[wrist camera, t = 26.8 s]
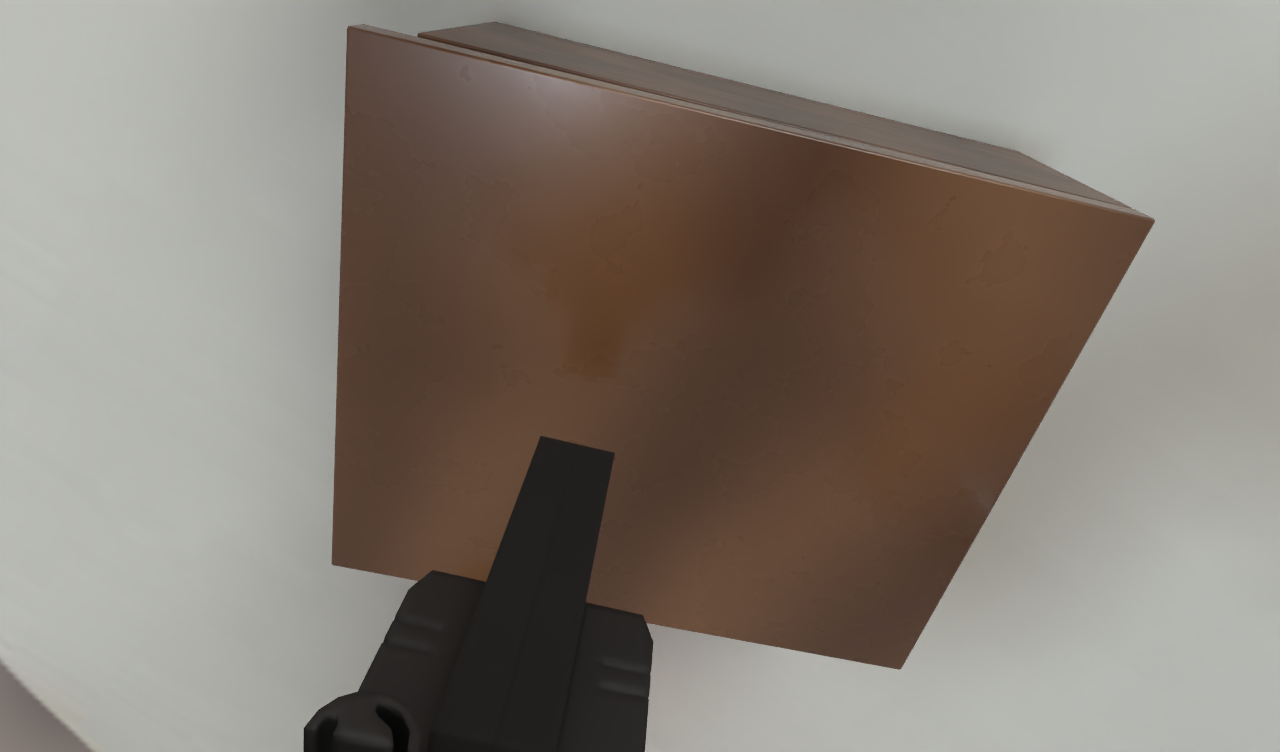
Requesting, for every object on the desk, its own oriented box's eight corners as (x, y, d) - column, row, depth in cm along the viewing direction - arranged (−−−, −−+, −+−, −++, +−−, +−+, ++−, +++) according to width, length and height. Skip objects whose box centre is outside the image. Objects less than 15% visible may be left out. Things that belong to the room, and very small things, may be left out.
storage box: (447, 423, 29) (381, 536, 23) (492, 21, 22) (416, 31, 16) (853, 514, 29) (893, 647, 23) (1019, 151, 22) (1134, 208, 17)
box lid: (342, 545, 22) (330, 565, 21) (361, 23, 15) (346, 25, 14) (893, 648, 23) (901, 670, 22) (1134, 209, 17) (1157, 219, 16)
